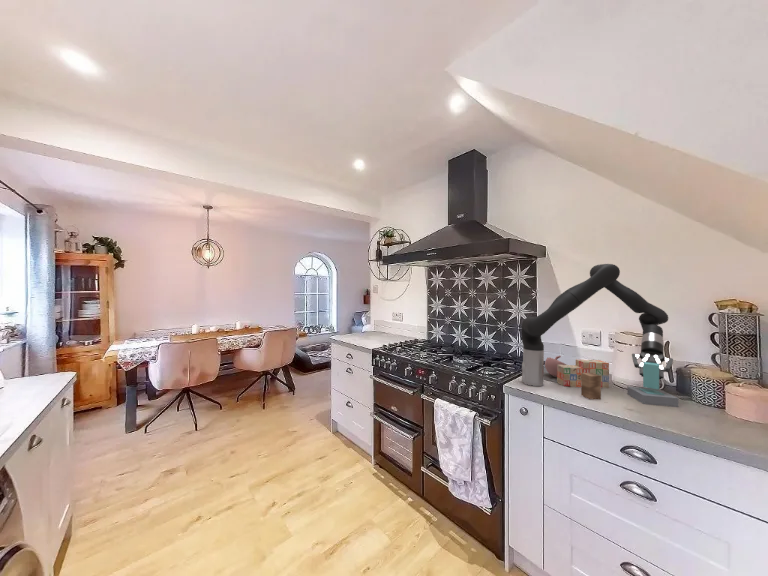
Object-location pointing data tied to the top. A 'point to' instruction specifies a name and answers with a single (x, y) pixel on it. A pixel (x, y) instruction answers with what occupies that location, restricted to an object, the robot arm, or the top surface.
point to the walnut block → (591, 385)
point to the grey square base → (652, 396)
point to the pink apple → (553, 365)
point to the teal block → (651, 375)
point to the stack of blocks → (572, 373)
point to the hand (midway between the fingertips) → (651, 376)
